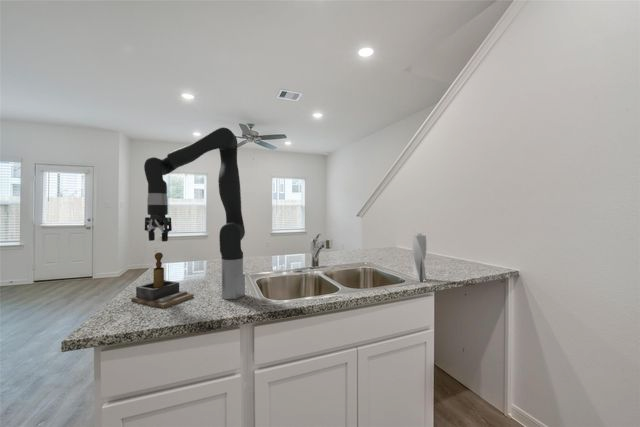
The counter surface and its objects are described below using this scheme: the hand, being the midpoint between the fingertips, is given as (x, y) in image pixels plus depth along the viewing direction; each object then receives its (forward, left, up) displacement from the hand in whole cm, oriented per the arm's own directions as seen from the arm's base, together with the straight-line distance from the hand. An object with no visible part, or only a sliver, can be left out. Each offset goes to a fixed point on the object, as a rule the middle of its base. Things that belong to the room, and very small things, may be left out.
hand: (158, 240), depth 111 cm
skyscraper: (-105, -79, -26) cm, 134 cm away
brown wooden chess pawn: (0, 0, -23) cm, 23 cm away
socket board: (-3, 0, -25) cm, 25 cm away
